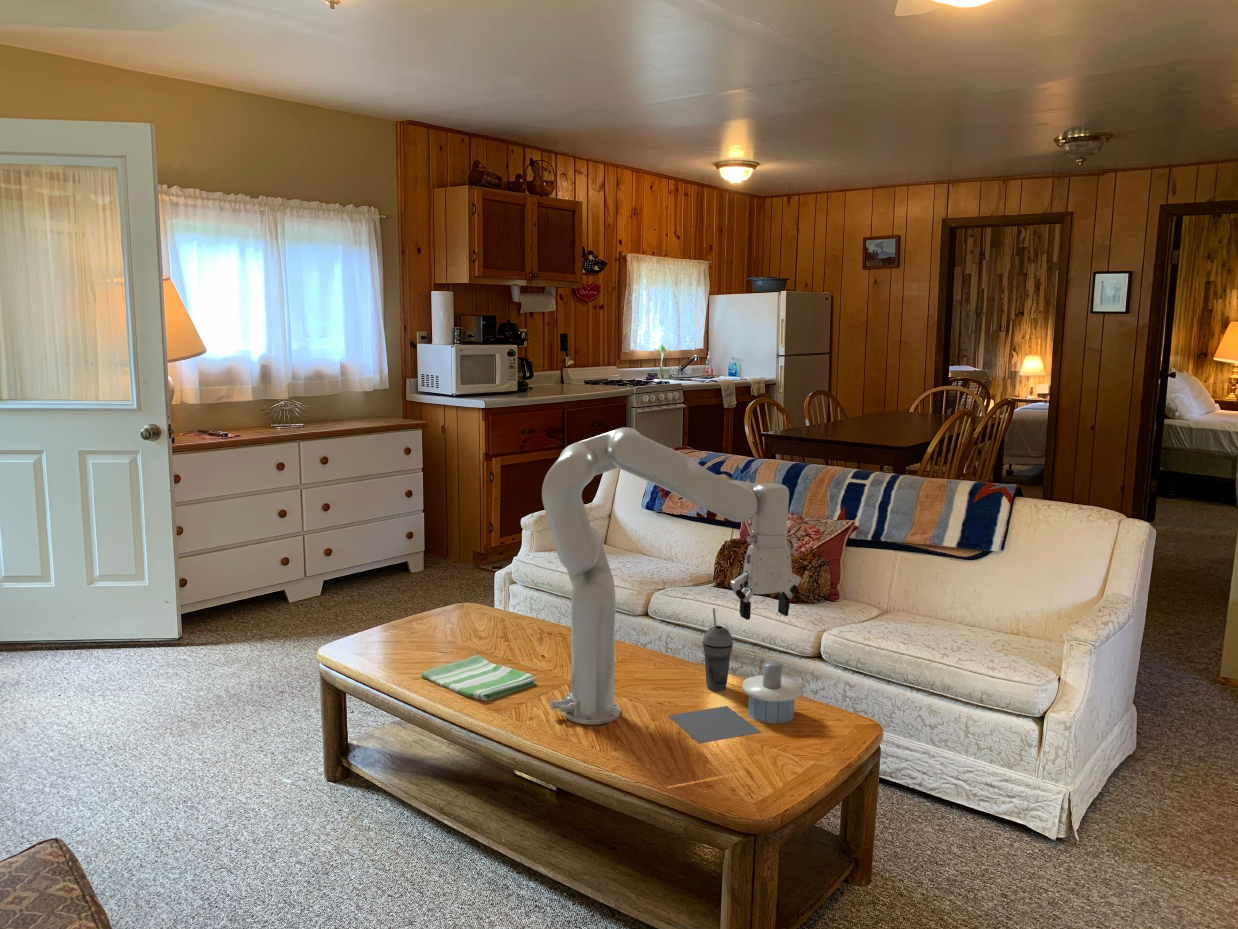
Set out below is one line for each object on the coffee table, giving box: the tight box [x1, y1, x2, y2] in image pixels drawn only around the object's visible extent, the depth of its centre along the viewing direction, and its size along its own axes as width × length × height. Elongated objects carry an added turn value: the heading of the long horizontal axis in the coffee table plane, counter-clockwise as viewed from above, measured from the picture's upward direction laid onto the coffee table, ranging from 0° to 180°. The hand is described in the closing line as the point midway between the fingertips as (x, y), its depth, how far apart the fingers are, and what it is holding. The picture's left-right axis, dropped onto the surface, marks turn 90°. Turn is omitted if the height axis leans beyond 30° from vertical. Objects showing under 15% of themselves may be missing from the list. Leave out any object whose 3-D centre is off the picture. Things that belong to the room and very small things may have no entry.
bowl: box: [747, 695, 796, 725], centre depth 207 cm, size 10×10×6 cm
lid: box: [741, 660, 802, 702], centre depth 206 cm, size 13×13×6 cm
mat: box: [667, 705, 762, 744], centre depth 202 cm, size 15×15×1 cm
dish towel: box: [420, 654, 538, 702], centre depth 226 cm, size 18×23×3 cm
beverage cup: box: [702, 607, 734, 692], centre depth 221 cm, size 7×7×20 cm
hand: (764, 616), depth 205 cm, fingers open, 9 cm apart
